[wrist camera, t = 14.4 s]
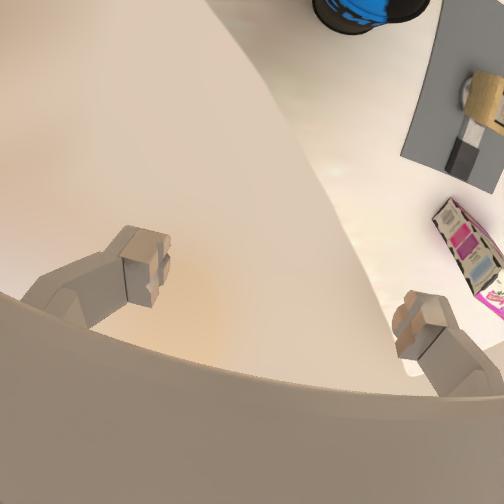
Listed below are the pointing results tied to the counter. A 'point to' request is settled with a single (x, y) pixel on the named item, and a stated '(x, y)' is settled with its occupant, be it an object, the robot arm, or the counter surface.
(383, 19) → the aerosol can
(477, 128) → the ratchet
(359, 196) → the counter surface
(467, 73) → the mat
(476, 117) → the brass square frame
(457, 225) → the candy bar box
